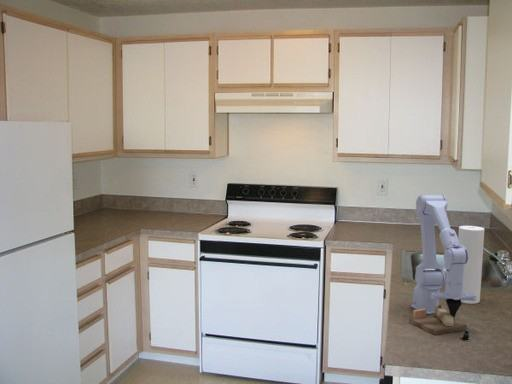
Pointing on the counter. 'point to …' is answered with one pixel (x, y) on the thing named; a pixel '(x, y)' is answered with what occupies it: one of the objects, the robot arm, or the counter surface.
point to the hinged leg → (444, 315)
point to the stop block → (419, 313)
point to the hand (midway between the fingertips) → (452, 319)
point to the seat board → (437, 325)
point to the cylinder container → (472, 260)
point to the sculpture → (465, 335)
